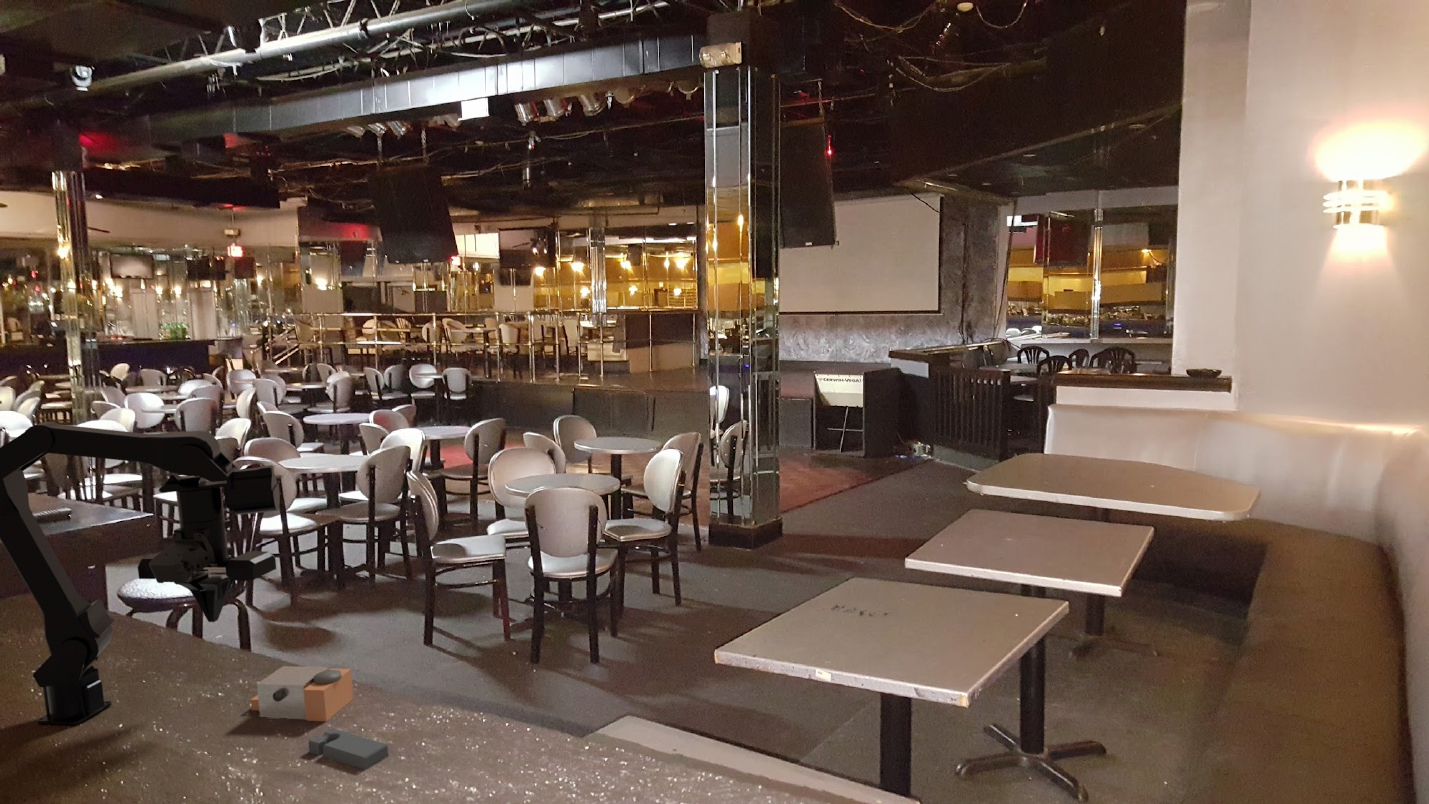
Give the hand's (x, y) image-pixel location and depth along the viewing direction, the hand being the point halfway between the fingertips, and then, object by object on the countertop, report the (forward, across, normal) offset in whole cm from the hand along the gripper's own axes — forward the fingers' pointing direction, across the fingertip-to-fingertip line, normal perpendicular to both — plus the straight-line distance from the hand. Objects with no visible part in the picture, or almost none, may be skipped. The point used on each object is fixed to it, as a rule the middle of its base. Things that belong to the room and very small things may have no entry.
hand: (213, 621), depth 134 cm
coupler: (+11, +15, -4) cm, 19 cm away
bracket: (+12, +30, -15) cm, 36 cm away
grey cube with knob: (+11, +15, -4) cm, 19 cm away
